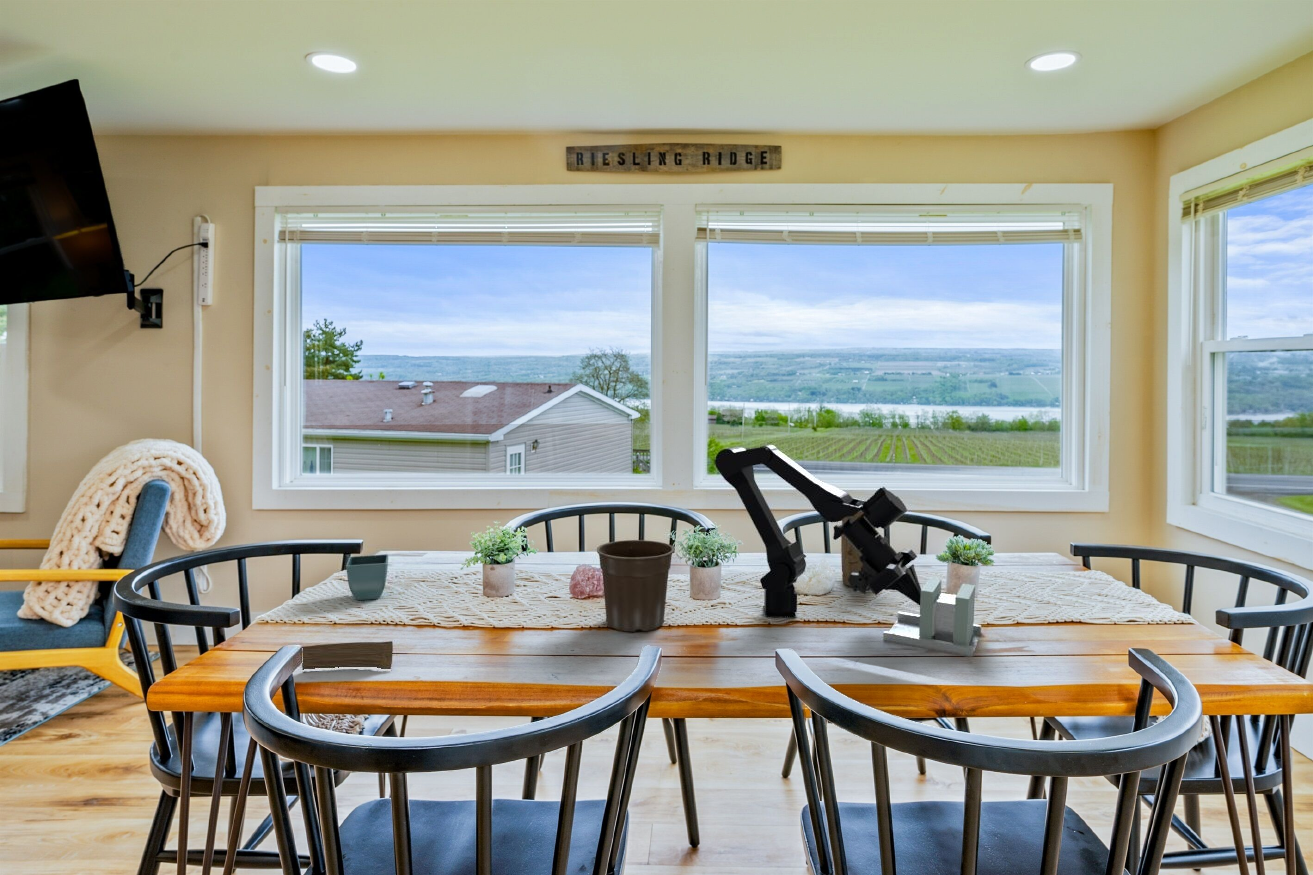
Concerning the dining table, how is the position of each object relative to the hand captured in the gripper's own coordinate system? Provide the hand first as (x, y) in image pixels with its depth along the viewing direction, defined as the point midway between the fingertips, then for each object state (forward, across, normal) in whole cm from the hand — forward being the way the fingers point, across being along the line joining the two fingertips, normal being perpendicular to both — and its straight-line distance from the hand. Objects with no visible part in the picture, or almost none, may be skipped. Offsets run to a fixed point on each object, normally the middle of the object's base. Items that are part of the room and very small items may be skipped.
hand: (923, 604), depth 141 cm
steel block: (+7, 0, -1) cm, 7 cm away
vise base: (+6, 0, -4) cm, 7 cm away
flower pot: (-77, +38, -88) cm, 123 cm away
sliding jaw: (+5, 0, -3) cm, 6 cm away
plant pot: (-33, +21, -44) cm, 58 cm away
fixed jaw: (+10, 0, +1) cm, 10 cm away
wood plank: (-54, +68, -65) cm, 109 cm away
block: (-10, -31, -20) cm, 39 cm away
